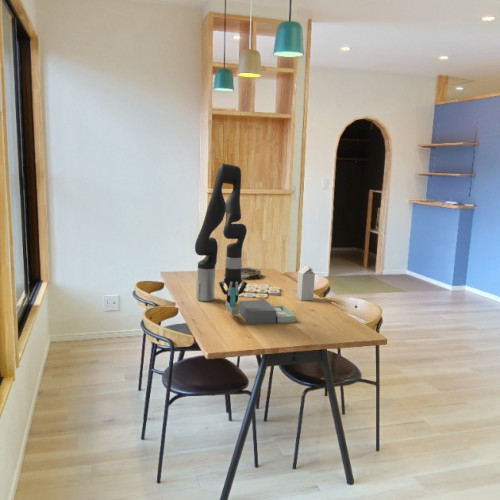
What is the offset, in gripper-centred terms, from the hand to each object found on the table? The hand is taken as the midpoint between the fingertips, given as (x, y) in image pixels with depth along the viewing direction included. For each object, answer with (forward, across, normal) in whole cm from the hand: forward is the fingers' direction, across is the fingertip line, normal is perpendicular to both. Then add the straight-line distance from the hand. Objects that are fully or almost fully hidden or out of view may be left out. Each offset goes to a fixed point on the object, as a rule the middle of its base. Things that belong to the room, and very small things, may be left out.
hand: (232, 302), depth 230 cm
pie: (+9, -30, -89) cm, 94 cm away
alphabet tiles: (+9, -24, -51) cm, 57 cm away
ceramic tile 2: (+5, -23, -3) cm, 24 cm away
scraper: (+4, 0, 0) cm, 4 cm away
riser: (+8, -12, 0) cm, 15 cm away
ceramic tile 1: (+5, -24, +3) cm, 24 cm away
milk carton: (+8, -49, -30) cm, 58 cm away
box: (+8, -24, 0) cm, 26 cm away
